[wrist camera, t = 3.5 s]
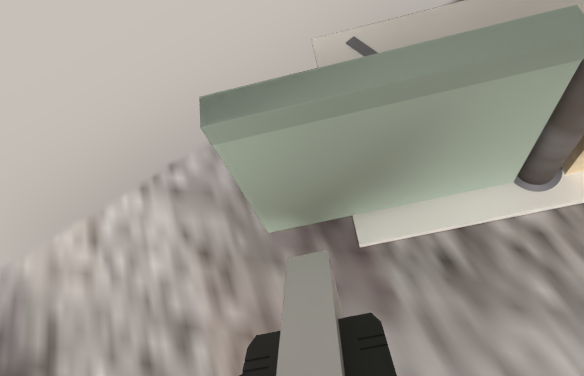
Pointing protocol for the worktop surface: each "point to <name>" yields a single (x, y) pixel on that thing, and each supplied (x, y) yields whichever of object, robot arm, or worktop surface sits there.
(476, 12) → the card
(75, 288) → the worktop surface
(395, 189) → the hinged fence section
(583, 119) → the fixed fence section
